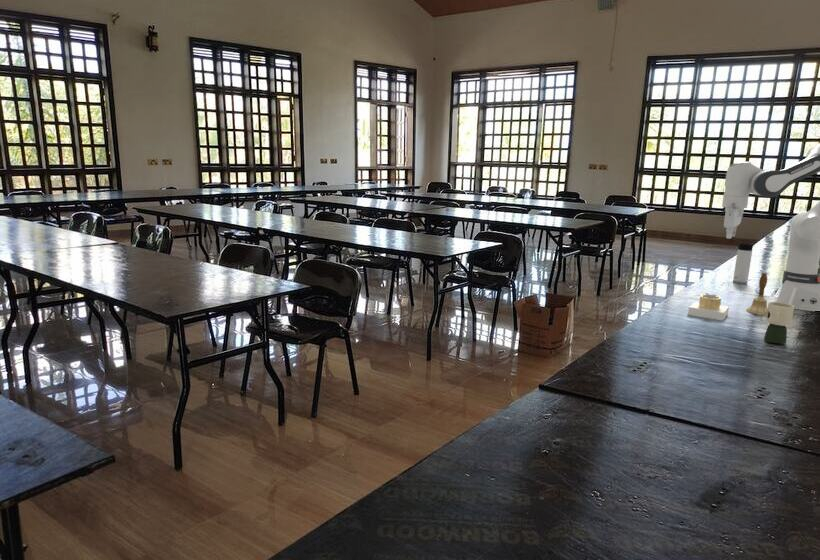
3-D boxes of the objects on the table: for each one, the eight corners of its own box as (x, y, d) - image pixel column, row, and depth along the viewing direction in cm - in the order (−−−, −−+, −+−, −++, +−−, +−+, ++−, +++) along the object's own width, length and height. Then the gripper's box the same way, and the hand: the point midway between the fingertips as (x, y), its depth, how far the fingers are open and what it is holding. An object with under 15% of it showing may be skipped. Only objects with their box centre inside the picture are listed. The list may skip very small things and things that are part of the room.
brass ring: (720, 306, 223) (722, 296, 222) (717, 310, 218) (719, 300, 217) (701, 303, 227) (702, 293, 226) (697, 307, 222) (699, 296, 221)
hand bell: (773, 315, 225) (780, 275, 221) (750, 314, 226) (756, 274, 223) (765, 310, 233) (771, 271, 229) (743, 308, 234) (749, 270, 231)
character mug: (764, 336, 196) (771, 299, 193) (789, 341, 191) (796, 303, 189) (759, 344, 188) (765, 305, 185) (784, 349, 183) (791, 309, 180)
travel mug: (734, 283, 285) (740, 243, 281) (731, 281, 291) (737, 241, 287) (748, 284, 284) (755, 244, 279) (745, 282, 290) (751, 242, 286)
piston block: (727, 314, 224) (730, 294, 223) (722, 320, 215) (725, 299, 213) (694, 308, 231) (696, 289, 230) (687, 314, 222) (690, 294, 220)
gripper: (740, 204, 222) (735, 240, 224) (747, 202, 238) (742, 235, 241) (721, 203, 225) (717, 239, 228) (729, 201, 241) (725, 234, 244)
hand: (730, 237), depth 234 cm, fingers open, 8 cm apart
